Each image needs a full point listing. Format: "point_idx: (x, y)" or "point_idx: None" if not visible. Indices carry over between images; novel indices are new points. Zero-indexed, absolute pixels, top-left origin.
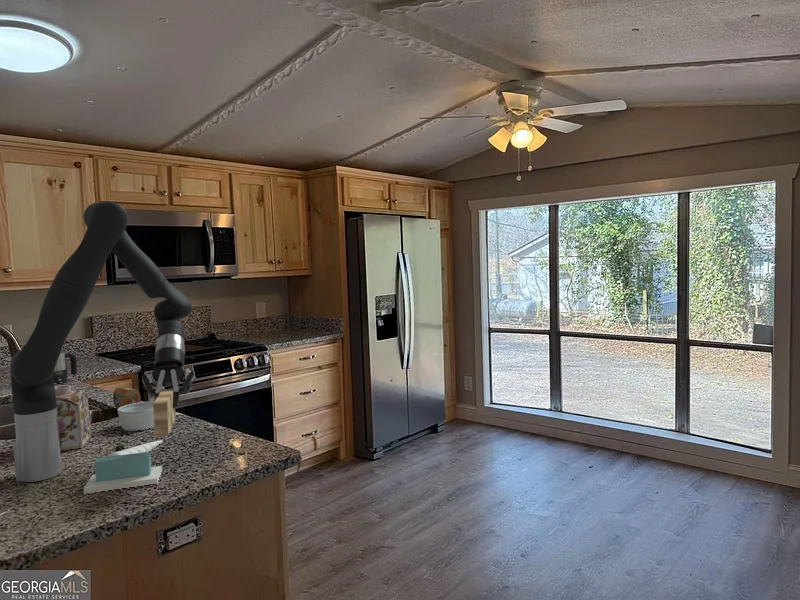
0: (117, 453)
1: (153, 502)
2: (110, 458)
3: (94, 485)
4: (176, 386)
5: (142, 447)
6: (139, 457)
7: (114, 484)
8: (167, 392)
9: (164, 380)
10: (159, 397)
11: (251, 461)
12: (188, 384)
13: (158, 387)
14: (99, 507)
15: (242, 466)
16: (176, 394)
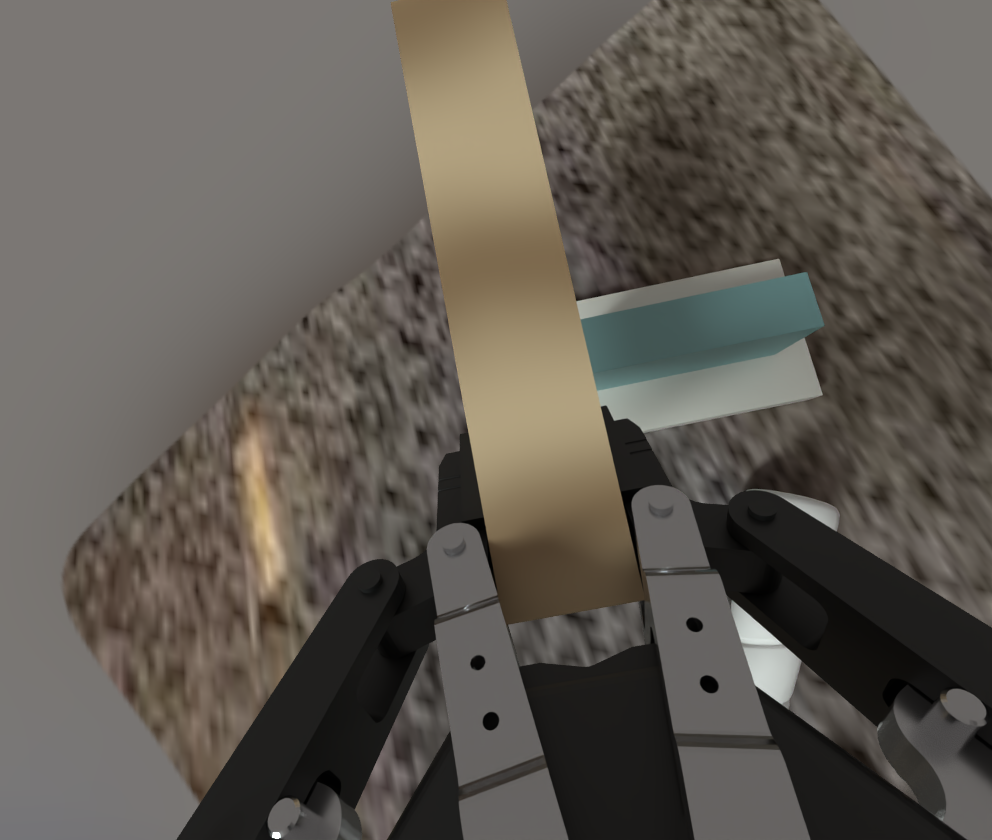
0: (797, 504)
1: None
2: (751, 306)
3: (748, 275)
4: (453, 586)
5: None
6: (617, 313)
7: (675, 281)
8: (521, 428)
9: (646, 680)
10: (530, 206)
11: (224, 504)
12: (312, 652)
13: (679, 552)
14: (654, 163)
15: (253, 453)
16: (456, 521)
